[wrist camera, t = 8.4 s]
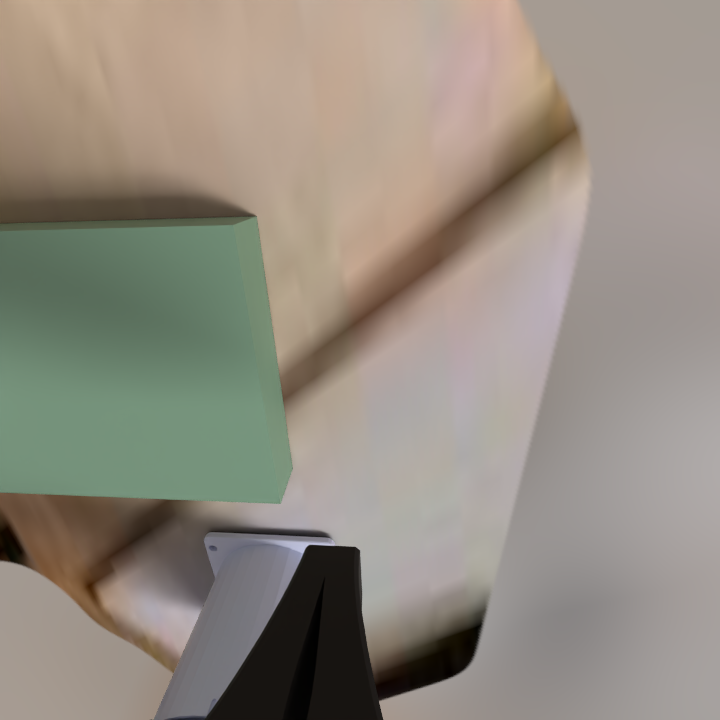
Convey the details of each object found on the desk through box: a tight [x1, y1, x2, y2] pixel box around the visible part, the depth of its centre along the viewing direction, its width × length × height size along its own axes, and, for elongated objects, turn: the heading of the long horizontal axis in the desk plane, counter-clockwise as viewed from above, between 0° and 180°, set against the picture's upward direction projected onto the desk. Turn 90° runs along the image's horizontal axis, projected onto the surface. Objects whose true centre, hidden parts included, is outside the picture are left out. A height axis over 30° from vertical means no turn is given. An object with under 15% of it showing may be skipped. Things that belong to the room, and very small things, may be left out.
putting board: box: [0, 216, 293, 504], centre depth 19 cm, size 13×22×2 cm, turn 92°
